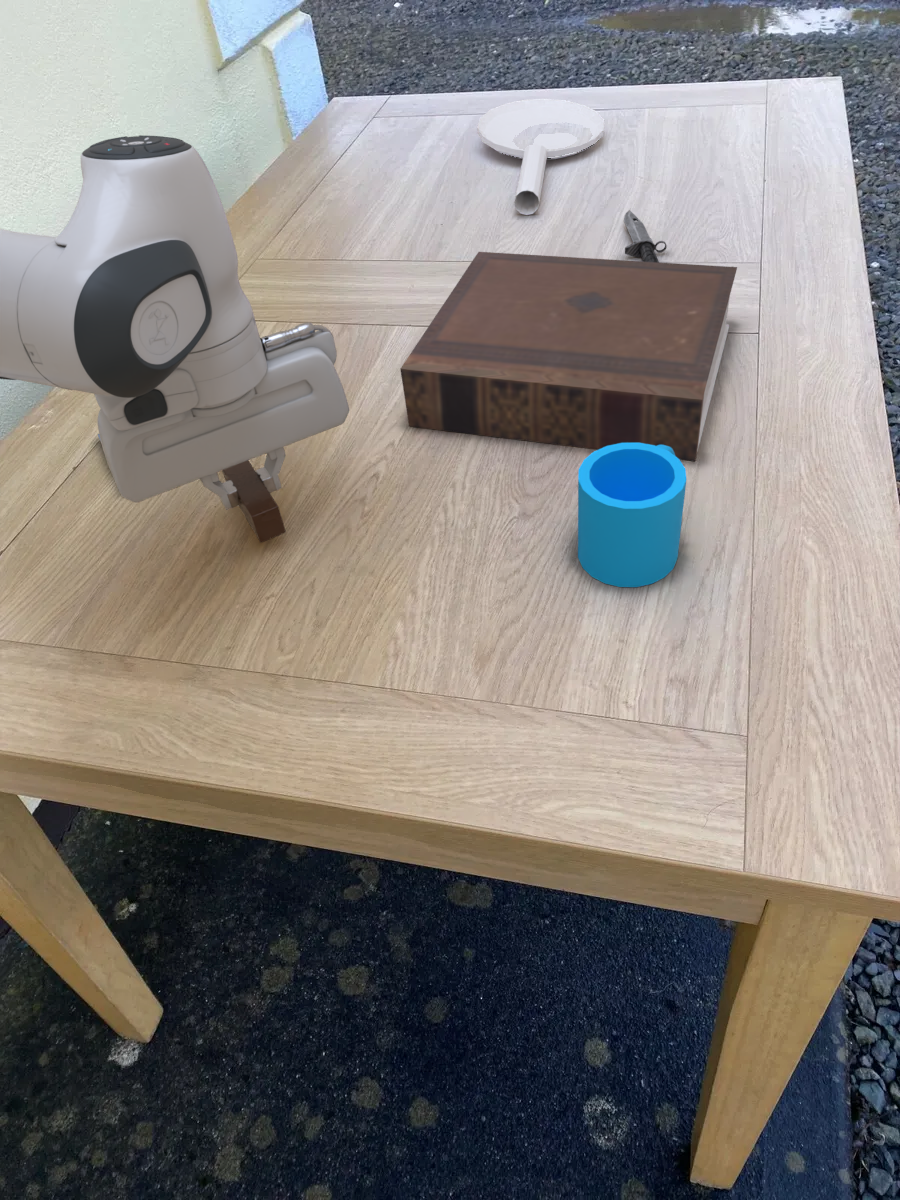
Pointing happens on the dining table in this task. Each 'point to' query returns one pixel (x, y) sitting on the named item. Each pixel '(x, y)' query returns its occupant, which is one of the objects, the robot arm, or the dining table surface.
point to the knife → (640, 240)
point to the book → (573, 352)
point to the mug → (630, 513)
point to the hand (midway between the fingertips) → (251, 496)
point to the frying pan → (536, 139)
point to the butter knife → (255, 501)
